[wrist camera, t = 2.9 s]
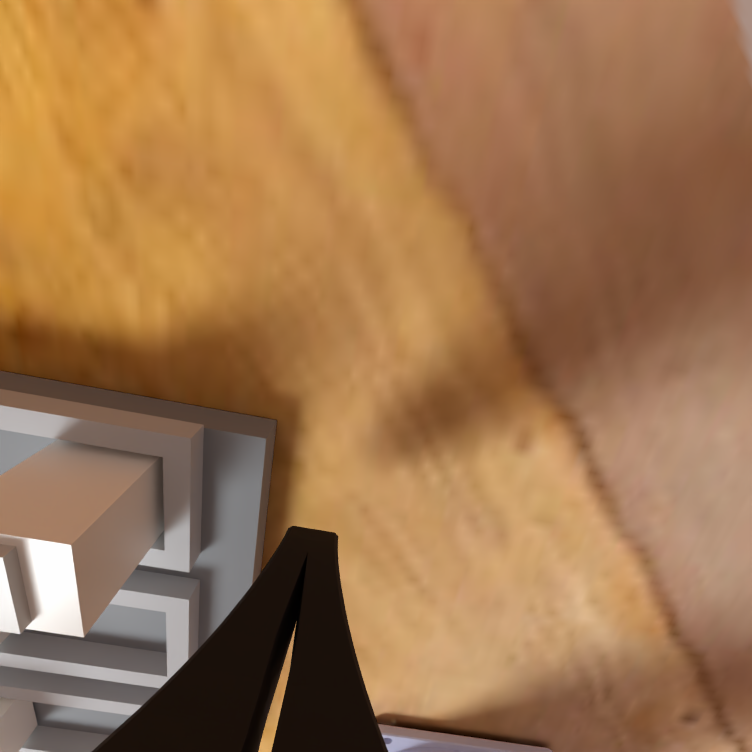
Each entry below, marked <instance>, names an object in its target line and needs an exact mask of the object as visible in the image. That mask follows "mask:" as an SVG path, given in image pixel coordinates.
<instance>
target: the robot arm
mask: <svg viewBox="0 0 752 752" xmlns="http://www.w3.org/2000/svg"><path fill="white" fill-rule="evenodd" d="M296 621H297V622H296ZM295 624H296V629H295V637H294V644H293V651H292V659H291V666H290V672H289V677H288V681H287V686H286V690H285V695H284V699H283V703H282V708H281V712H280V717H279V721H278V725H277V730H276V734H275V739H274V743H273V747H272V752H553V751H552V750H550V749H549V748H545V747H538V746H531V745H524V744H517V743H509V742H502V741H495V740H488V739H481V738H474V737H467V736H460V735H453V734H446V733H439V732H432V731H425V730H418V729H411V728H404V727H397V726H390V725H383V724H378V723H377V720H376V718H375V715H374V712H373V709H372V706H371V703H370V700H369V697H368V694H367V691H366V688H365V684H364V681H363V678H362V674H361V671H360V668H359V664H358V661H357V657H356V653H355V649H354V646H353V642H352V637H351V633H350V629H349V625H348V620H347V615H346V611H345V605H344V599H343V594H342V588H341V581H340V573H339V564H338V536H337V535H336V533H333V532H327V531H321V530H315V529H309V528H303V527H297V526H292V527H290V528H288V530H287V532H286V534H285V536H284V538H283V540H282V541H281V543H280V545H279V546H278V548H277V550H276V551H275V553H274V554H273V556H272V557H271V559H270V560H269V562H268V563H267V565H266V566H265V568H264V569H263V571H262V572H261V573H260V575H259V576H258V577H257V579H256V580H255V582H254V583H253V584H252V586H251V587H250V588H249V590H248V591H247V592H246V594H245V595H244V596H243V597H242V599H241V600H240V601H239V602H238V603H237V605H236V606H235V607H234V608H233V610H232V611H231V612H230V613H229V615H228V616H227V617H226V618H225V619H224V621H223V622H222V623H221V624H220V625H219V626H218V628H217V629H216V630H215V631H214V632H213V633H212V635H211V636H210V637H209V638H208V639H207V640H206V641H205V642H204V643H203V644H202V646H201V647H200V648H199V649H198V650H197V651H196V652H195V653H194V654H193V655H192V656H191V657H190V658H189V660H188V661H187V662H186V663H185V664H184V665H183V666H182V667H181V668H180V669H179V670H178V671H177V672H176V673H175V674H174V675H173V676H172V677H171V678H170V679H169V680H168V681H167V682H166V683H165V684H164V685H163V686H162V687H161V688H160V689H159V690H158V691H157V692H156V693H155V694H154V695H153V696H152V697H151V698H150V699H149V700H148V701H146V702H145V703H144V704H143V705H142V706H141V707H140V708H139V709H138V710H137V711H136V712H135V713H134V714H132V715H131V716H130V717H129V718H128V719H127V720H126V721H125V722H124V723H123V724H121V725H120V726H119V727H118V728H117V729H116V730H115V731H114V732H113V733H112V734H110V735H109V736H108V737H107V738H106V739H105V740H104V741H103V742H102V743H100V744H99V745H98V746H97V747H96V748H95V749H94V750H93V751H92V752H258V750H259V746H260V742H261V738H262V734H263V730H264V727H265V723H266V719H267V716H268V713H269V709H270V706H271V703H272V700H273V696H274V693H275V690H276V687H277V683H278V680H279V677H280V673H281V670H282V667H283V664H284V660H285V657H286V654H287V651H288V647H289V644H290V641H291V638H292V634H293V631H294V628H295Z"/></svg>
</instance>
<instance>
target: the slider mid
mask: <svg viewBox="0 0 752 752" xmlns="http://www.w3.org/2000/svg"><path fill="white" fill-rule="evenodd" d="M9 634H10V633H8V632H2V631H0V644H1V643H2V642H3V641H4V640H5V639H6V638H7V637H8V636H9Z"/></svg>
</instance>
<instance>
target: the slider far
mask: <svg viewBox="0 0 752 752" xmlns="http://www.w3.org/2000/svg"><path fill="white" fill-rule="evenodd" d="M37 725H38V724H37V720H36V715H35V711H34V707H33V703H32V702H30V701H23V700H16V699H9V698H2V697H0V752H19V750H20V749H21V748H22V746H23V745H24V743H25V742H26V741H27V739H28V738H29V736H30V735H31V734H32V732H33V731H34V729H35V728H36V726H37Z"/></svg>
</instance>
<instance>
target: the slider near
mask: <svg viewBox="0 0 752 752" xmlns="http://www.w3.org/2000/svg"><path fill="white" fill-rule="evenodd" d="M163 531H164V494H163V457H158V456H152V455H146V454H141V453H135V452H129V451H123V450H117V449H111V448H106V447H100V446H94V445H88V444H82V443H76V442H71V441H65V440H59V439H58V440H56V441H54V442H53V443H51V444H50V445H48V446H47V447H45V448H43V449H42V450H40V451H39V452H37V453H35V454H34V455H32V456H31V457H29V458H27V459H26V460H24V461H23V462H21V463H19V464H18V465H16V466H15V467H13V468H12V469H10V470H8V471H7V472H5V473H4V474H2V475H0V631H2V632H8V633H15V634H21V633H22V632H23V631H24V630H25V629H30V630H37V631H44V632H50V633H57V634H64V635H71V636H77V637H85V635H86V634H87V633H88V631H89V630H90V629H91V627H92V626H93V625H94V623H95V622H96V621H97V619H98V618H99V617H100V615H101V614H102V613H103V611H104V610H105V609H106V607H107V606H108V605H109V603H110V602H111V600H112V599H113V598H114V596H115V595H116V594H117V592H118V591H119V590H120V588H121V587H122V586H123V584H124V583H125V582H126V580H127V579H128V578H129V576H130V575H131V574H132V572H133V571H134V570H135V568H136V567H137V566H138V564H139V563H140V562H141V560H142V559H143V558H144V556H145V555H146V554H147V552H148V551H149V550H150V548H151V547H152V546H153V544H154V543H155V541H156V540H157V539H158V537H159V536H160V535H161V533H162V532H163Z"/></svg>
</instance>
